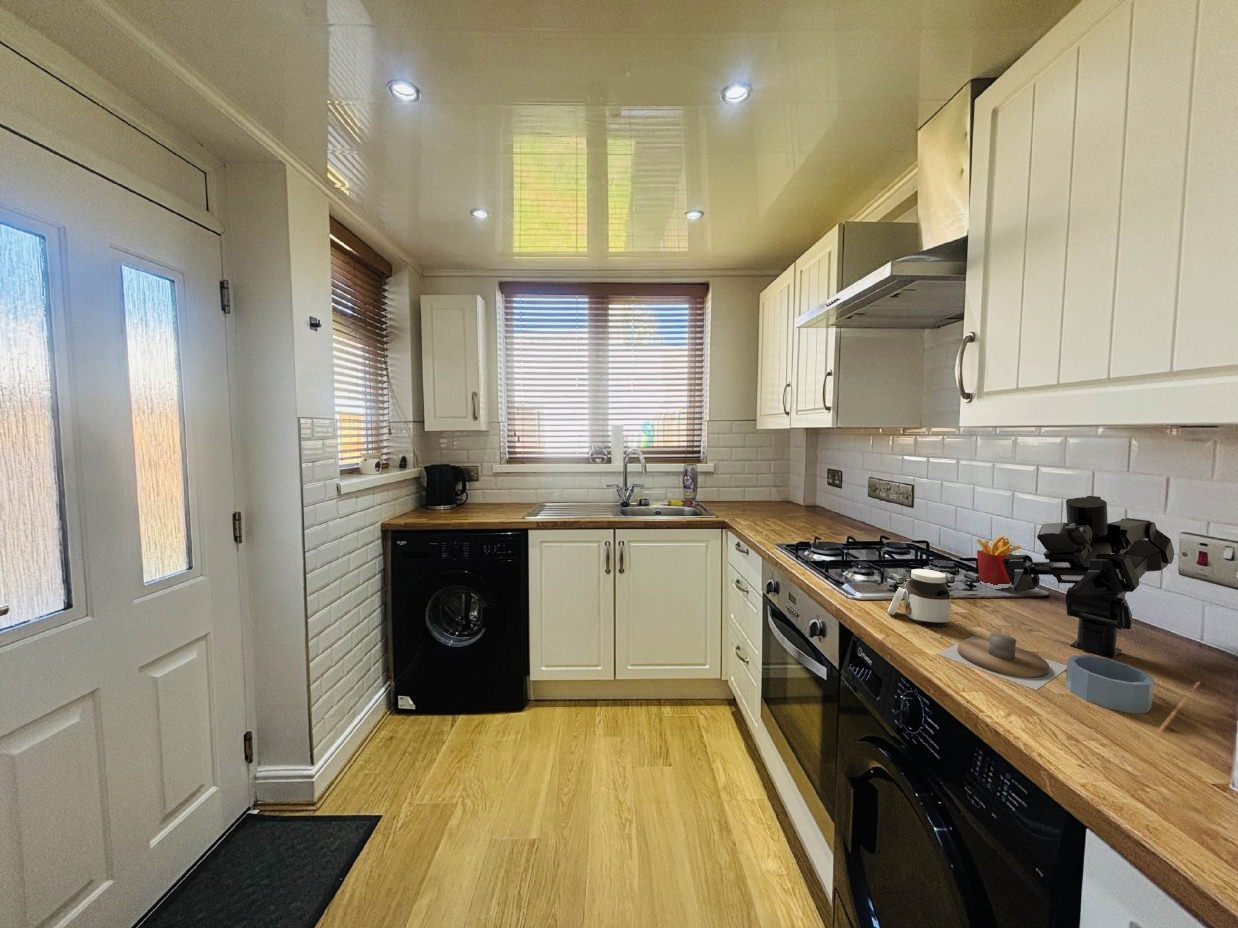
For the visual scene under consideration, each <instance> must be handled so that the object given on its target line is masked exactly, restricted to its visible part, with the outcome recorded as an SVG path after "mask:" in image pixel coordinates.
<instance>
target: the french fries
mask: <svg viewBox="0 0 1238 928" xmlns="http://www.w3.org/2000/svg"><path fill="white" fill-rule="evenodd" d="M976 542H977V543H978V544H979V545H980V547H981V549H982V550H981V549H980V550H979V549H978V550H976V556H977V570H978V581H979V580H980V581H982V582H984V583H990V584H993V585H998V584H1010V585H1011V582H1010V580H1009V577H1008V575H1007V572H1006V570H1005V567H1004V565H1003V562H1002V561H1003V559H1004V558H1005V557H1007V556H1008V555H1014V554H1013V552H1015V551H1019V550H1020V549H1022V547H1021V546H1020V544H1018V545H1016V546H1013V547H1012V543H1010V540H1009V538H1008V537H1004V536H1002V535H999V536H997V538H995V540H994V541H993V542H991V546H990V545H989V543H990V541H989V540H984V542H983V541H982V540H981V539H980V538H979V539H977V540H976Z"/></svg>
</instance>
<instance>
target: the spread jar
mask: <svg viewBox="0 0 1238 928" xmlns="http://www.w3.org/2000/svg"><path fill="white" fill-rule="evenodd" d="M910 573H911V574H910V579H909V580H908V581H907V583H906V586H905V589H903V587H900V586H898V588H897V590H896V592H895V594H894V595H893V598H892V601H891V603H890V605H889V607H888V609H887V614H890V615H892V616H895V614H896V612H897V611H898V608H899V606H900V604H901V602H902V600H903V599H904V600H903V601H904V603H903V605H904V613H905V615H906V618H907V620H909V621H911V622H912V623H914V624H916V625H920V626H921V625H922V626H926V627H935V628H937V627H938V628H940V627H945V626H947V624H949V622H950V619H951V609H952V608H951V607H952V606H951V605H952V599H951V598H952V597H951V593H950V589H949V588H948V585H947V584H946V577H947V574H945V573H944V572H941V571H938V570H932V569H926V568H924V569H923V568H915V569H911V572H910ZM904 592H905V593H904ZM903 597H904V598H903Z"/></svg>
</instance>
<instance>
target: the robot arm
mask: <svg viewBox="0 0 1238 928" xmlns="http://www.w3.org/2000/svg"><path fill="white" fill-rule="evenodd" d="M1065 507H1066V508H1065V509H1066V522H1052V523H1043V524H1042V525H1041V526H1040V528H1039V532H1038V533H1037V535H1036V539H1037V540H1038V541H1039V542H1040V543H1041V544H1042V545H1041V546H1042V547H1043V548H1044V549H1045V550H1046V551H1044V552H1043V556H1044V559H1045V560H1048V561H1034V560H1033V558H1032V556H1030V555H1028V554H1013V555H1008V556H1007V557H1005V558H1004V559H1003V561H1002V562H1003V565H1004V567H1005V570H1006V572H1007V575H1008V577H1009V580H1010V585H1011V586H1013V589H1014V592H1015V593H1020V592H1026V591H1031V590H1036V587H1039V585H1040V579H1041V578H1040V576H1041V575H1044V576H1053V577H1054V578H1055V579H1056V580H1057V583H1058V584H1072V586H1070V587H1068V588H1067V591H1066V593H1065V605H1066V615H1067V616H1068V617H1074V618H1078V622H1077V623H1078V624H1077V638H1076V640H1075V641H1073V642H1071V644H1070V645H1069V646H1070V647H1071V648H1074V649H1078V650H1082V651H1085V652H1086V653H1087V652H1088V653H1092V654H1096V655H1099V656H1102V657H1104V658H1107V659H1115V658H1116V657H1118V656H1119V655H1120V654H1122V652H1123V649H1121V648H1118V647H1117V638H1118V630H1131V629H1132V623H1133V614H1132V611H1131V610H1130V609H1131V608H1130V606H1129V603H1128V601H1127V599H1126V594H1127V593H1133V592H1134V591H1135V590H1136V589H1138V588H1139V586H1140V579H1141V578H1142V577H1143V576H1144V575H1145V574H1146V573H1149V572H1159V571H1163V570H1164V569H1165V568H1167V567H1168V566H1169V565H1171V564H1172V563H1173V561H1174V558H1175V549H1174V547H1173V543H1172V539H1171V538H1170V537H1169V536H1168V535H1166V534H1164V533H1163V532H1161V530H1159V529H1157V526H1156V523H1155V522H1153V521H1151V520H1146V519H1139V518H1138V519H1137V518H1131V517H1126V518H1121V519H1120V520H1116V521H1113V522H1109V523H1108V521H1109V520H1108V502H1107V501H1106V500H1104V499H1102V497H1101V496H1095V495H1086V496H1085V497H1083V496H1081V497H1074V498H1067V500H1065Z"/></svg>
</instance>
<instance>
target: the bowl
mask: <svg viewBox="0 0 1238 928" xmlns="http://www.w3.org/2000/svg"><path fill="white" fill-rule="evenodd" d="M1066 666H1067V669H1066V671H1065V673H1066V674H1065V687H1066V688H1067V690H1068V691H1069V692H1070V693H1072V694H1074V695H1075V696H1077V697H1078V698H1081V699H1082V700H1083V701H1086V702H1088V703H1092V704H1094V705H1097V706H1100V707H1103V708H1105V709H1109V710H1113V711H1119V712H1123V713H1128V714H1147V713H1148V712H1150V710H1151V709H1152V707H1153V697H1154V687H1155V685H1154V684H1155V679H1154V678H1153V677H1152V676H1151V675H1149V674H1148V673H1147V672H1146V671H1143V670H1141V669H1139V668H1137V667H1134V666H1133V665H1130V664H1127V663H1123V662H1120V661H1116V660H1113V659H1111V658H1107V657H1098V656H1093V655H1084V654H1083V655H1081V654H1080V655H1072V656H1070V657H1068V658H1067V661H1066Z"/></svg>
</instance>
